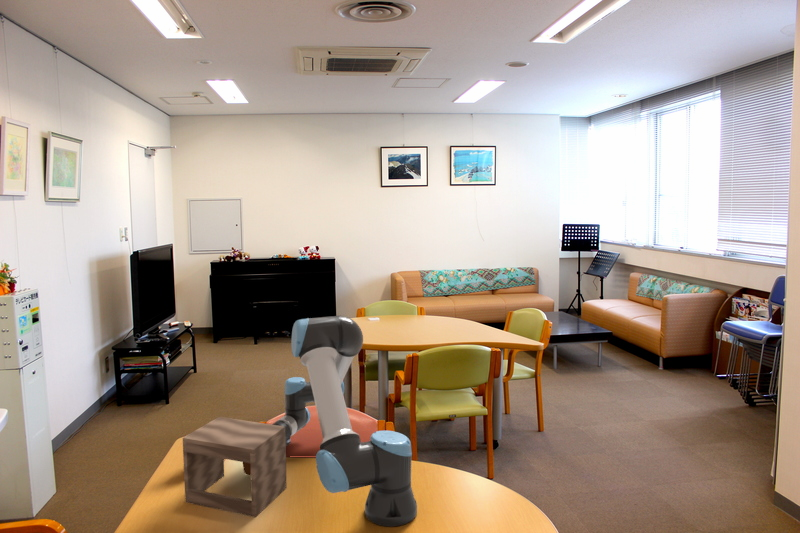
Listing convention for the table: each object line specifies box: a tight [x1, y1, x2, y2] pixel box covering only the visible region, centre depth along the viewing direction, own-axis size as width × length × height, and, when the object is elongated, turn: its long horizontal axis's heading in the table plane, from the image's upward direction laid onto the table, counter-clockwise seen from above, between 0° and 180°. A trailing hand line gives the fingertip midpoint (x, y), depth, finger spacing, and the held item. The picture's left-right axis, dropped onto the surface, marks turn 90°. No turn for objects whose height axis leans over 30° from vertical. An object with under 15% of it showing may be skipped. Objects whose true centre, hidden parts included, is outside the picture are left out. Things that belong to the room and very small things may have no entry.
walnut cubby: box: [182, 416, 287, 518], centre depth 167 cm, size 17×24×20 cm
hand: (245, 458), depth 173 cm, fingers closed on disposable coffee cup, 8 cm apart
